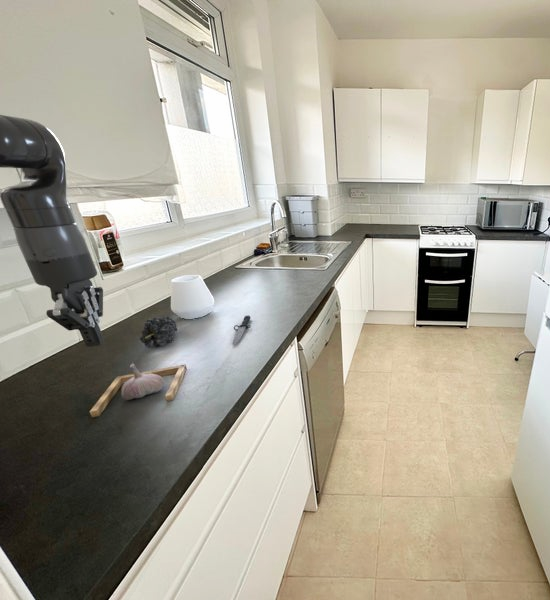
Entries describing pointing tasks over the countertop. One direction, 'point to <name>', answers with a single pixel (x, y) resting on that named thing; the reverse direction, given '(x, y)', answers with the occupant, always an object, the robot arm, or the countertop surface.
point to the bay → (120, 380)
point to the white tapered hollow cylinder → (190, 297)
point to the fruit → (158, 331)
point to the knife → (241, 329)
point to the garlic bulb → (141, 384)
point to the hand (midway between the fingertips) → (95, 344)
